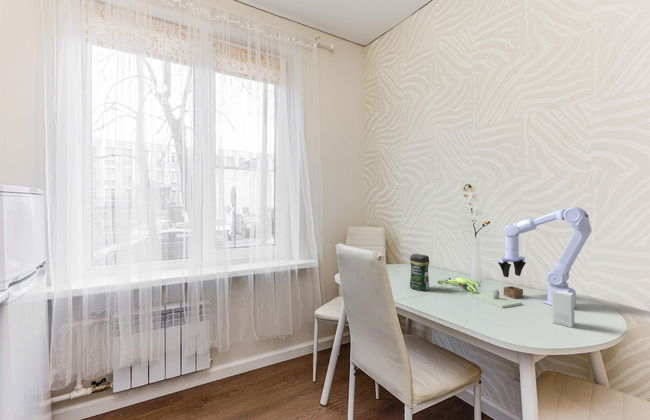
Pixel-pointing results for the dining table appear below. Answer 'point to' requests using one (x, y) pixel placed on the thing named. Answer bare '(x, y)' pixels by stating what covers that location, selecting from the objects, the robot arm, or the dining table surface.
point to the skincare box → (563, 308)
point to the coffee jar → (419, 272)
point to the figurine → (460, 281)
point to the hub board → (497, 299)
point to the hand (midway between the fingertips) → (511, 276)
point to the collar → (513, 292)
